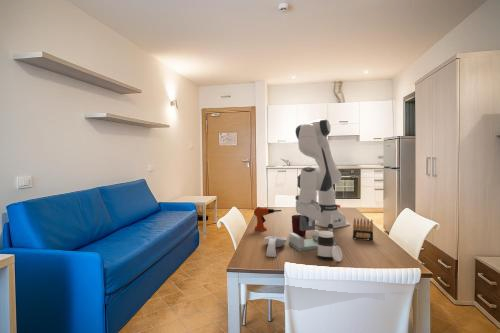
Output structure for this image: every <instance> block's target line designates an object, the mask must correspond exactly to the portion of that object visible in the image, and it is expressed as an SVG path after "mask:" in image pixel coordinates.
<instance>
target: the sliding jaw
mask: <svg viewBox="0 0 500 333" xmlns="http://www.w3.org/2000/svg"><path fill="white" fill-rule="evenodd" d="M327 229H328V230H327V231H330V232H333V233H334V228H333V224H328V227H327ZM319 231H320V230H318V229H315V230H312V238H311V239H315V240H318V236H319V235H318V233H319ZM333 238H334V235H333ZM334 239H335V238H334Z"/></svg>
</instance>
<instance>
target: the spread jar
mask: <svg viewBox="0 0 500 333" xmlns="http://www.w3.org/2000/svg"><path fill="white" fill-rule="evenodd" d="M318 235H319V236H318V240H317V249H316V250H317V251H316V252H317V253H316V255H317V258H319V259H321V260H326V259H329V260H332V259H333V260H334V261H335V262H341V261H343V252H342V249H341V247H340V246H339V245H336V246H334V242H335V238H333V236H334V231H333V232H330V231H328V230H319V233H318Z"/></svg>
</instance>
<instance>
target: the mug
mask: <svg viewBox="0 0 500 333" xmlns="http://www.w3.org/2000/svg"><path fill="white" fill-rule="evenodd" d="M300 216H302V214H294V215H292V216H291V229H292V233H295V234H297V235H299V236H300V237H302V238H303V237H306V233H307V231H301V230H300Z"/></svg>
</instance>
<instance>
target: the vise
mask: <svg viewBox="0 0 500 333" xmlns="http://www.w3.org/2000/svg"><path fill="white" fill-rule="evenodd" d="M288 236H289V239H288V240H289V241H288V245H290V246H291V247H292V248H294V249H296V250H297V252H301V251H308V250H315V249H316V250H317V240H315V239H313V238H306V239H305V238H304V237H303V236H302V237H300V236H299V235H297V234H295V233H293V232H289V234H288ZM334 246H337V242H335V241H334Z"/></svg>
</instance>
